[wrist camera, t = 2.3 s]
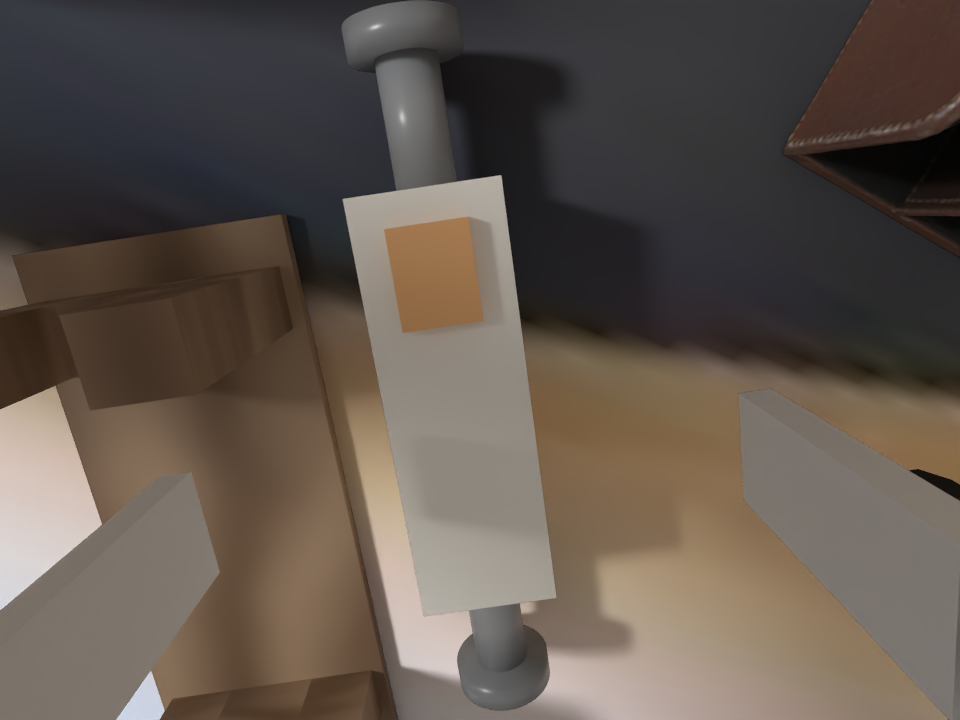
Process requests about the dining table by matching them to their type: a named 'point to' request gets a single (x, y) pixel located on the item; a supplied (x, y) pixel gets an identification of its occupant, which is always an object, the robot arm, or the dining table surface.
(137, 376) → the cradle rack
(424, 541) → the white block with pegs
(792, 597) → the dining table surface
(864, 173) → the letter holder
